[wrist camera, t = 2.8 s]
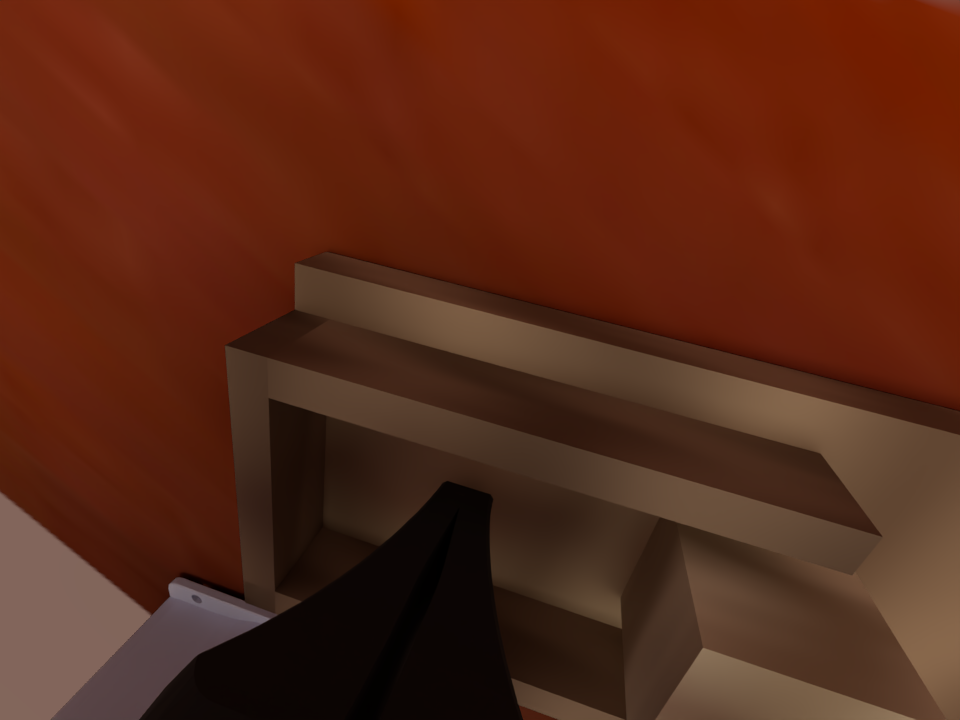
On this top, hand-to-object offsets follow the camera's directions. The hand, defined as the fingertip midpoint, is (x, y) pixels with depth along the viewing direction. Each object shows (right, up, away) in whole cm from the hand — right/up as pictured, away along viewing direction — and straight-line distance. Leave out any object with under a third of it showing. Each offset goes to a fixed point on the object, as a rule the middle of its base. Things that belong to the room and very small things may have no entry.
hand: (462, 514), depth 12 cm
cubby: (+1, 0, +1) cm, 1 cm away
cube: (+7, -2, 0) cm, 7 cm away
